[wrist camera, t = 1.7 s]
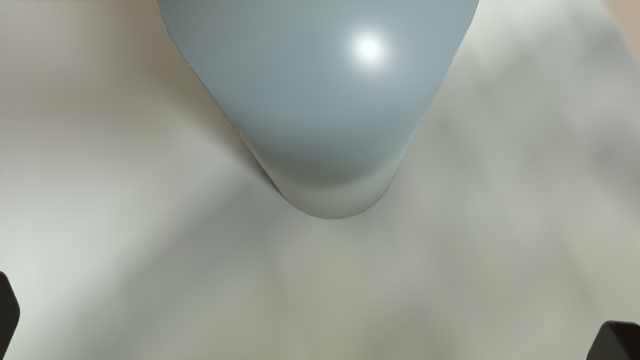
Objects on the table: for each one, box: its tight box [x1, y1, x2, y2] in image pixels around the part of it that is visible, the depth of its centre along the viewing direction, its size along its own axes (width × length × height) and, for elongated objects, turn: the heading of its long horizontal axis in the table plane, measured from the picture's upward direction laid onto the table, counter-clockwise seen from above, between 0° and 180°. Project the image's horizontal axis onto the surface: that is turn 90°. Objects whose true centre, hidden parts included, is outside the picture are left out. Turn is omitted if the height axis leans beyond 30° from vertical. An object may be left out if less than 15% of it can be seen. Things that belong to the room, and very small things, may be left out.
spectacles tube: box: [158, 0, 479, 219], centre depth 14 cm, size 5×5×13 cm
